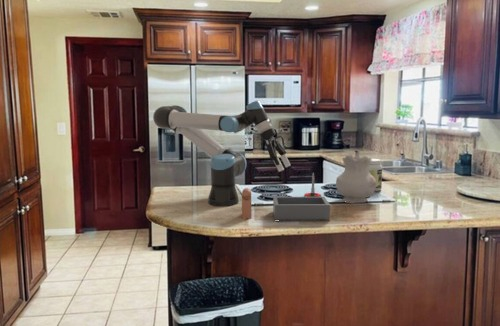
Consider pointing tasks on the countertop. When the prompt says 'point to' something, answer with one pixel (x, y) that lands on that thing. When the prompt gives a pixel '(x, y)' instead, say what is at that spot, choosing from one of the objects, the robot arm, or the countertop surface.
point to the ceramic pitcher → (356, 179)
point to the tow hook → (312, 190)
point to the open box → (301, 209)
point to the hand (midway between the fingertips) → (285, 168)
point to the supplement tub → (376, 172)
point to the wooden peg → (246, 203)
